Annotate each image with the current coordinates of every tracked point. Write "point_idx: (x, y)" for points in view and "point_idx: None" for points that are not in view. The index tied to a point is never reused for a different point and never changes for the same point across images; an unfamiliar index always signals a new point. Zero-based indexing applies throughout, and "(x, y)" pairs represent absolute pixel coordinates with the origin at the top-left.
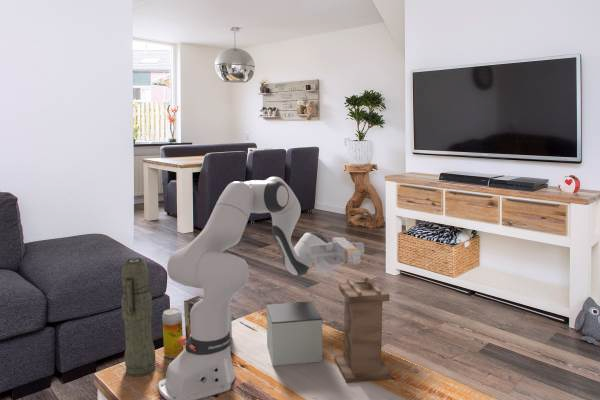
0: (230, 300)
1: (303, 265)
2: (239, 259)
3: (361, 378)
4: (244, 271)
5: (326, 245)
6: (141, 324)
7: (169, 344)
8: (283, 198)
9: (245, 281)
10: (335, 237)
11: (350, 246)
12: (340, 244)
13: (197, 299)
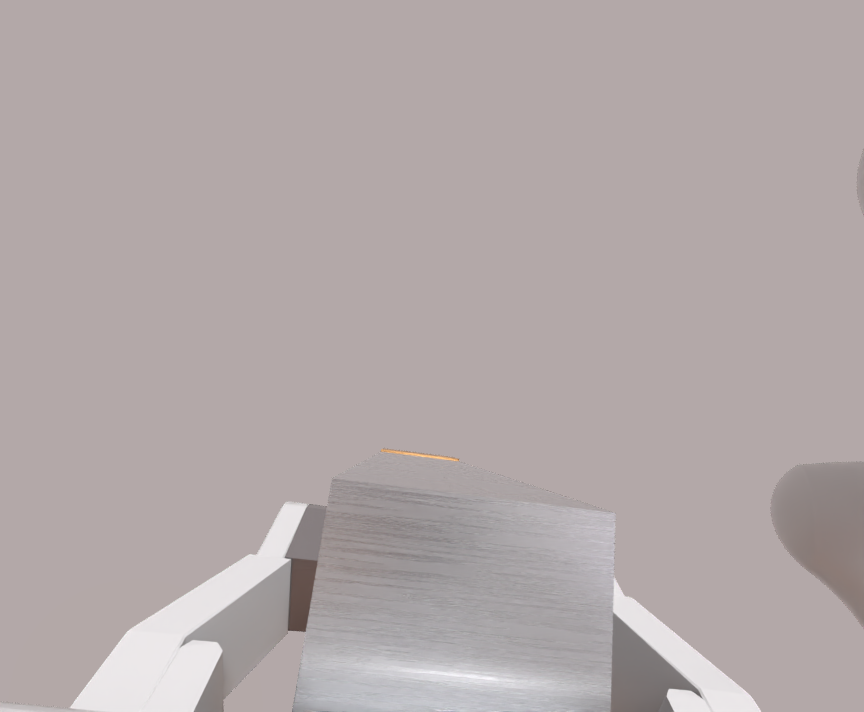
0: (861, 624)
1: None
2: (795, 466)
3: None
4: (772, 496)
5: (731, 696)
6: None
7: None
8: (857, 193)
9: (775, 529)
10: (536, 502)
11: (407, 456)
12: (475, 467)
13: None
